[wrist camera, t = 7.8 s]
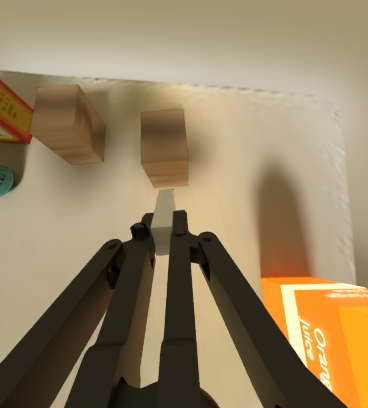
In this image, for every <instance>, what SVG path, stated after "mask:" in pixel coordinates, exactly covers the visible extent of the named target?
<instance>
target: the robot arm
mask: <svg viewBox="0 0 368 408" xmlns="http://www.w3.org/2000/svg"><path fill="white" fill-rule="evenodd" d="M130 229H131V233H132V236H133V237H132V239H131V240H129V241H126V242H123V243H122V242H121V240H119V239H112V240H109V241H108V242H106V243H105V244H104V245H103V246H102V247H101V248H100V250H99V251H98V252H97V253H96V254H95V255H94V256H93V258H92V259H91V260H90V261H89V262H88V263H87V264H86V266H85V267H84V268H83V269H82V270H81V271H80V273H79V274H78V275H77V276H76V277H75V278H74V279H73V281H72V282H71V283H70V284H69V285H68V286H67V288H66V289H65V290H64V291H63V292H62V293H61V294H60V296H59V297H58V298H57V299H56V300H55V301H54V302H53V304H52V305H51V306H50V307H49V308H48V309H47V311H46V312H45V313H44V314H43V315H42V316H41V317H40V319H39V320H38V321H37V322H36V323H35V324H34V325H33V327H32V328H31V329H30V330H29V331H28V332H27V334H26V335H25V336H24V337H23V338H22V339H21V340H20V342H19V343H18V344H17V345H16V346H15V347H14V349H13V350H12V351H11V352H10V353H9V354H8V355H7V357H6V358H5V359H4V360H3V361H2V362H1V363H0V408H50V406H51V405H52V403H53V401H54V400H55V398H56V396H57V395H58V393H59V391H60V389H61V388H62V386H63V384H64V382H65V381H66V379H67V377H68V376H69V374H70V372H71V370H72V369H73V367H74V365H75V364H76V362H77V360H78V358H79V357H80V355H81V353H82V351H83V350H84V348H85V346H86V345H87V343H88V341H89V339H90V338H91V336H92V334H93V333H94V331H95V329H96V327H97V326H98V324H99V322H100V320H101V319H102V317H103V315H104V314H105V312H106V310H107V312H106V315H105V318H104V321H103V323H102V326H101V329H100V332H99V335H98V338H97V340H96V343H95V344H94V345H93V346H91V347H89V348H88V350H87V351H86V353H85V355H84V357H83V359H82V362H81V365H80V367H79V370H78V373H77V375H76V378H75V381H74V383H73V386H72V389H71V391H70V394H69V396H68V399H67V402H66V404H65V407H64V408H220V407H219V406H218V404H217V403H216V402H215V401H214V399H213V398H212V397H211V396H210V395H209V394H208V393H207V392H206V391H204V390H203V389H202V388H200V382H199V369H198V356H197V342H196V329H195V315H194V302H193V288H192V275H191V262H192V263H197V264H199V266H200V268H201V270H202V273H203V275H204V277H205V279H206V282H207V284H208V286H209V288H210V291H211V293H212V295H213V297H214V300H215V302H216V304H217V306H218V309H219V311H220V313H221V315H222V317H223V320H224V322H225V324H226V326H227V329H228V331H229V333H230V335H231V338H232V340H233V342H234V344H235V347H236V349H237V351H238V353H239V356H240V358H241V360H242V362H243V365H244V367H245V369H246V371H247V374H248V376H249V378H250V380H251V383H252V385H253V387H254V389H255V391H256V393H257V395H258V397H259V399H260V401H261V403H262V405H263V407H264V408H348V407H347V406H346V405H345V404H344V403H343V402H342V401H341V400H340V399H339V398H338V397H337V396H336V395H335V394H334V393H333V392H332V391H331V390H330V389H328V388H327V387H326V386H325V385H324V384H323V383H322V382H321V381H320V380H319V379H318V378H317V377H316V376H315V375H314V374H313V373H312V372H311V371H310V370H309V369H308V368H307V367H306V366H305V364H304V363H303V362H302V360H301V359H300V357H299V356H298V354H297V353H296V351H295V350H294V348H293V347H292V346H291V344H290V343H289V341H288V340H287V338H286V337H285V335H284V334H283V332H282V331H281V330H280V328H279V327H278V325H277V324H276V322H275V321H274V319H273V318H272V316H271V315H270V313H269V312H268V311H267V309H266V308H265V306H264V305H263V303H262V302H261V300H260V299H259V297H258V296H257V295H256V293H255V292H254V290H253V289H252V287H251V286H250V284H249V283H248V281H247V280H246V279H245V277H244V276H243V274H242V273H241V271H240V270H239V268H238V267H237V265H236V264H235V263H234V261H233V260H232V258H231V257H230V255H229V254H228V252H227V251H226V249H225V248H224V246H223V245H222V244H221V242H220V241H219V239H218V238H217V236H216V235H215V234H214V233H212V232H203V233H200V234H199V236H196V235H193V234H191V233H190V232H189V231H188V223H187V213H186V212H185V210H179V211H176V205H175V197H174V189H164V190H159V194H158V198H157V202H156V207H155V211H154V213H146V214H145V215H144V216H143V217H142V221H141V222H139V223H136V224H134V225H132V226H131V228H130ZM155 252H156V256H157V255H169V267H168V282H167V297H166V312H165V327H164V339H163V341H162V344H161V351H160V364H159V377H158V381H157V382H155V383H153V384H150V385H148V386H146V387H143V388H140V365H141V358H142V351H143V344H144V337H145V330H146V323H147V316H148V309H149V303H150V296H151V289H152V282H153V275H154V268H155V261H156V260H155ZM107 308H108V309H107Z"/></svg>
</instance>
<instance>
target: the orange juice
mask: <svg viewBox="0 0 368 408" xmlns="http://www.w3.org/2000/svg"><path fill="white" fill-rule="evenodd" d="M261 283H262V290H263V298H264V306H265V308H266V309H267V311H268V312H269V313H270V315H271V316H272V318H273V319H274V321H275V322H276V324H277V325H278V327H279V328H280V330H281V331H282V332H283V334H284V335H285V337H286V338H287V340H288V341H289V343H290V344H291V346H292V347H293V348H294V350H295V351H296V353H297V354H298V356H299V357H300V359H301V360H302V362H303V363H304V364H305V366H306V367H307V368H308V369H309V370H310V371H311V372H312V373H313V374H314V375H315V376H316V377H317V378H318V379H319V380H320V381H321V382H322V383H323V384H324V385H325V386H326V387H327V388H328V389H330V390H331V391H332V392H333V393H334V394H335V395H336V396H337V397H338V398H339V399H340V400H341V401H342V402H343V403H344V404H345V405H346V406H347V407H348V408H368V289H367V288H364V287H359V286H354V285H349V284H342V283H337V282H332V281H327V280H322V279H318V278H313V277H289V278H261Z"/></svg>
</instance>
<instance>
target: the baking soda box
mask: <svg viewBox="0 0 368 408" xmlns="http://www.w3.org/2000/svg"><path fill="white" fill-rule="evenodd" d="M33 113H34V110H33V109H32V108H30V107H29V106H28V105H27V104H26V103H25V102H24V101H23V100H22V99H21V98H20V97H18V96H17V95H16V94H15V93H14V92H13V91H12V90H11V89H10V88H9V87H8V86H6V85H5V84H4V83H3V82H2V81H1V80H0V142H11V143H28V144H30V141H31V138H32V136H33V135H31V134H30V128H31V123H32V118H33Z"/></svg>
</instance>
